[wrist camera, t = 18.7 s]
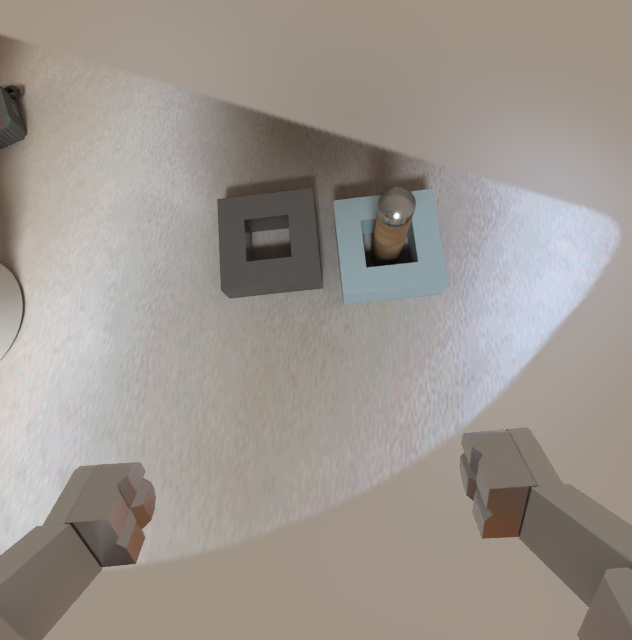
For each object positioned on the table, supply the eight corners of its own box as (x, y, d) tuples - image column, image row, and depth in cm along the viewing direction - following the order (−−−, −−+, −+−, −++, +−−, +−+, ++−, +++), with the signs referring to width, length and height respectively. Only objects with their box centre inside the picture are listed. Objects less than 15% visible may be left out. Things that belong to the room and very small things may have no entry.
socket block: (229, 298, 45) (221, 290, 42) (225, 212, 47) (217, 199, 44) (322, 288, 45) (320, 279, 42) (314, 202, 47) (312, 187, 44)
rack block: (343, 304, 44) (343, 295, 41) (334, 216, 46) (333, 200, 43) (440, 294, 43) (448, 283, 40) (426, 205, 46) (432, 188, 42)
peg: (373, 269, 45) (380, 222, 34) (369, 242, 45) (376, 189, 35) (401, 266, 44) (418, 218, 34) (398, 239, 45) (413, 184, 34)
